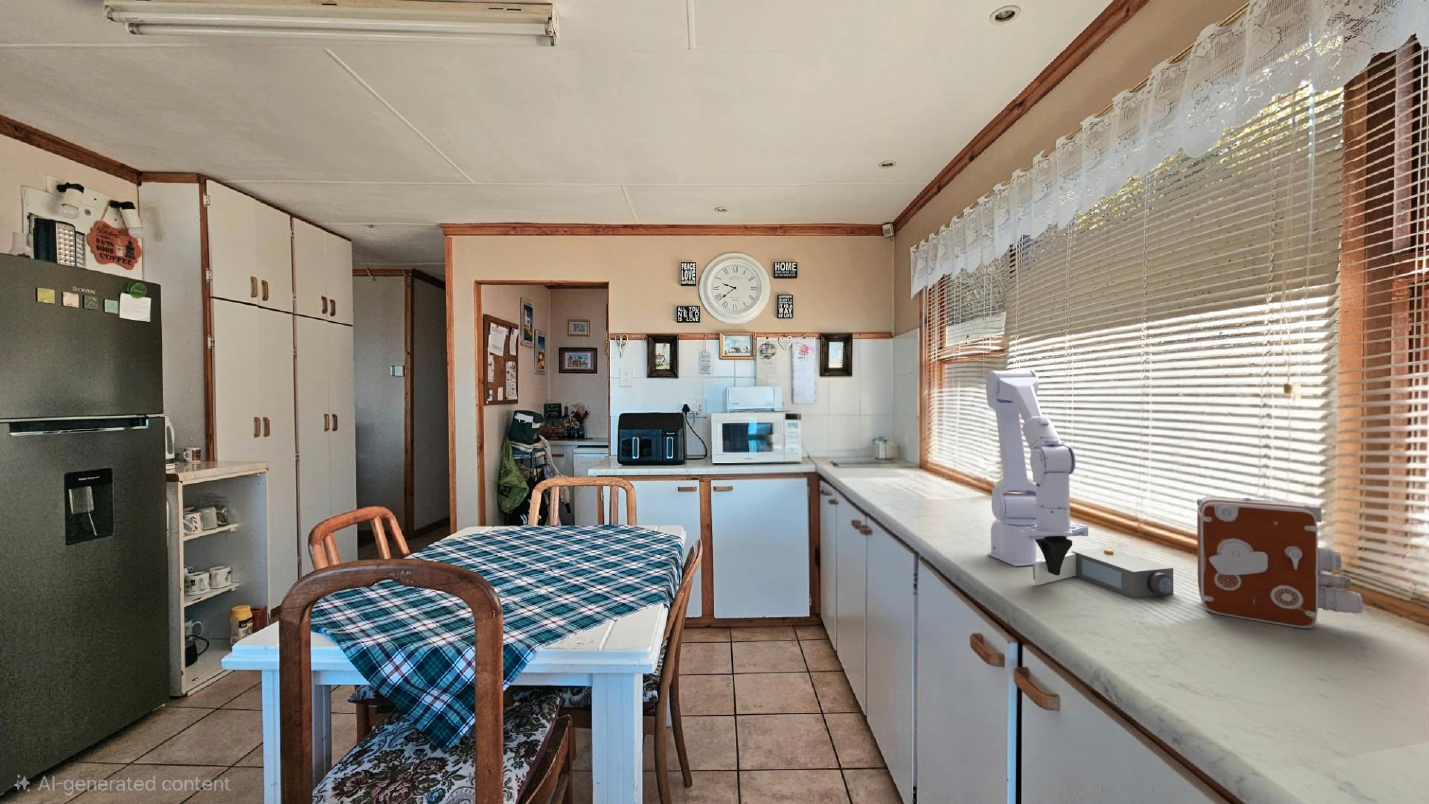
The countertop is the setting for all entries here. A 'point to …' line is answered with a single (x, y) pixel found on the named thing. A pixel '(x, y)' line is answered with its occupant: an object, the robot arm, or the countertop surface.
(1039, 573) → the side door
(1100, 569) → the camera body
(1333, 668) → the countertop surface
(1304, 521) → the cine camera
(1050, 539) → the robot arm
